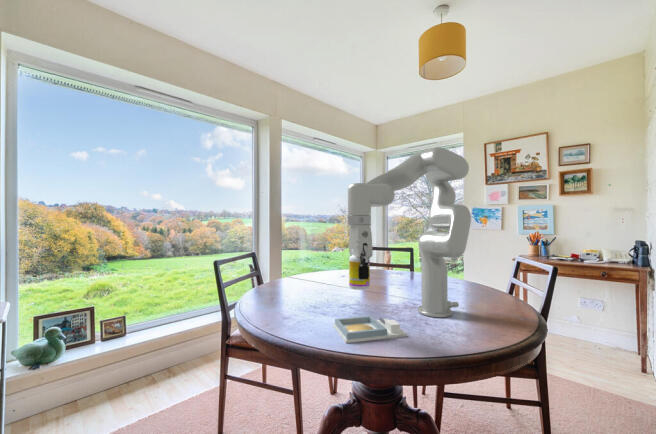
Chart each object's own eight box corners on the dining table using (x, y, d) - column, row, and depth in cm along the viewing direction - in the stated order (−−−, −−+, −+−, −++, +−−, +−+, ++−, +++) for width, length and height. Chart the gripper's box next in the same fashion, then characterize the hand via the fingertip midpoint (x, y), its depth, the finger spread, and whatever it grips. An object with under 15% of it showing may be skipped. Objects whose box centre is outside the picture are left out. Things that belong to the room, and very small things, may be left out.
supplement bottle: (368, 290, 90) (368, 249, 90) (347, 289, 92) (347, 248, 92) (370, 286, 97) (370, 247, 97) (350, 285, 98) (350, 247, 98)
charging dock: (387, 321, 104) (387, 312, 104) (407, 336, 90) (407, 325, 91) (333, 326, 99) (333, 316, 99) (345, 343, 86) (345, 332, 86)
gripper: (381, 221, 87) (381, 281, 87) (360, 221, 104) (360, 271, 104) (357, 221, 85) (357, 283, 85) (340, 221, 102) (340, 272, 102)
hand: (359, 276), depth 94 cm, fingers closed on supplement bottle, 6 cm apart
